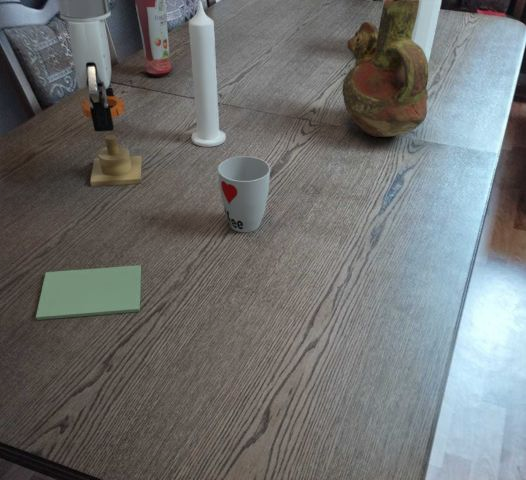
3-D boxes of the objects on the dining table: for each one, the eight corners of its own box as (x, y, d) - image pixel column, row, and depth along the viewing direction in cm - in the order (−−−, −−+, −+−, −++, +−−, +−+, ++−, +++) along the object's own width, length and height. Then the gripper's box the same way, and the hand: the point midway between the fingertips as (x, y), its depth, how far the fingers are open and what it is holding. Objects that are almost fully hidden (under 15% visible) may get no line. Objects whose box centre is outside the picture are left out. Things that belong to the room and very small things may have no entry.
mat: (36, 320, 75) (35, 317, 75) (46, 275, 82) (45, 272, 82) (140, 311, 77) (139, 308, 76) (141, 268, 84) (140, 264, 83)
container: (373, 48, 153) (384, -28, 140) (424, 50, 153) (440, -27, 140) (378, 67, 143) (391, -14, 130) (434, 69, 143) (451, -12, 130)
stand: (91, 186, 100) (82, 150, 95) (95, 163, 106) (87, 127, 101) (141, 183, 101) (135, 147, 96) (142, 160, 107) (136, 124, 102)
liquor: (161, 81, 135) (144, -58, 115) (138, 75, 138) (118, -62, 118) (179, 72, 140) (166, -64, 120) (157, 66, 142) (140, -68, 122)
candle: (186, 145, 112) (173, 4, 94) (197, 130, 117) (187, -7, 99) (220, 149, 111) (213, 7, 93) (229, 134, 116) (224, -4, 98)
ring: (81, 120, 92) (79, 112, 92) (85, 103, 97) (83, 96, 96) (123, 118, 93) (122, 111, 92) (125, 102, 98) (124, 95, 97)
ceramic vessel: (373, 99, 129) (392, -28, 111) (447, 145, 113) (483, 5, 95) (310, 113, 123) (319, -18, 105) (378, 163, 107) (403, 18, 89)
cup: (214, 215, 94) (211, 160, 86) (259, 207, 96) (259, 152, 89) (229, 241, 88) (227, 185, 81) (276, 232, 90) (278, 176, 83)
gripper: (65, -10, 89) (88, 101, 102) (51, 22, 77) (79, 144, 90) (112, -11, 90) (129, 100, 103) (105, 21, 78) (125, 142, 91)
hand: (105, 119), depth 96 cm, fingers closed on ring, 7 cm apart
